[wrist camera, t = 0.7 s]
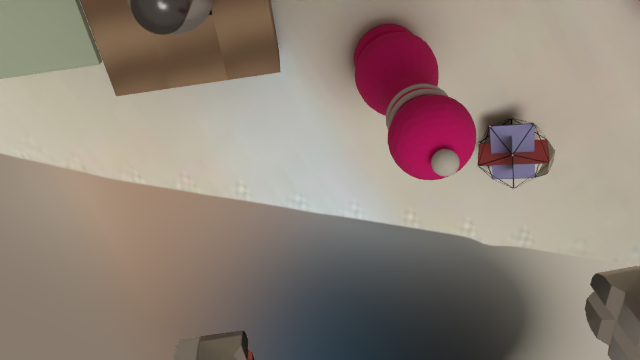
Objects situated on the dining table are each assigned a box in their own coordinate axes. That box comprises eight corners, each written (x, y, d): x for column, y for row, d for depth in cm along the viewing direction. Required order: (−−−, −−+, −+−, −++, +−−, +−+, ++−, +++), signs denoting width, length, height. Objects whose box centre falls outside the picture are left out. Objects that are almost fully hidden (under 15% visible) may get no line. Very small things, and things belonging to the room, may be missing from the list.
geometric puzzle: (461, 185, 55) (530, 210, 50) (455, 133, 51) (530, 153, 46) (498, 152, 58) (567, 171, 53) (495, 99, 54) (570, 115, 49)
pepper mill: (335, 41, 47) (374, 152, 31) (407, 3, 46) (488, 98, 29) (366, 103, 51) (416, 231, 34) (434, 70, 50) (518, 187, 33)
